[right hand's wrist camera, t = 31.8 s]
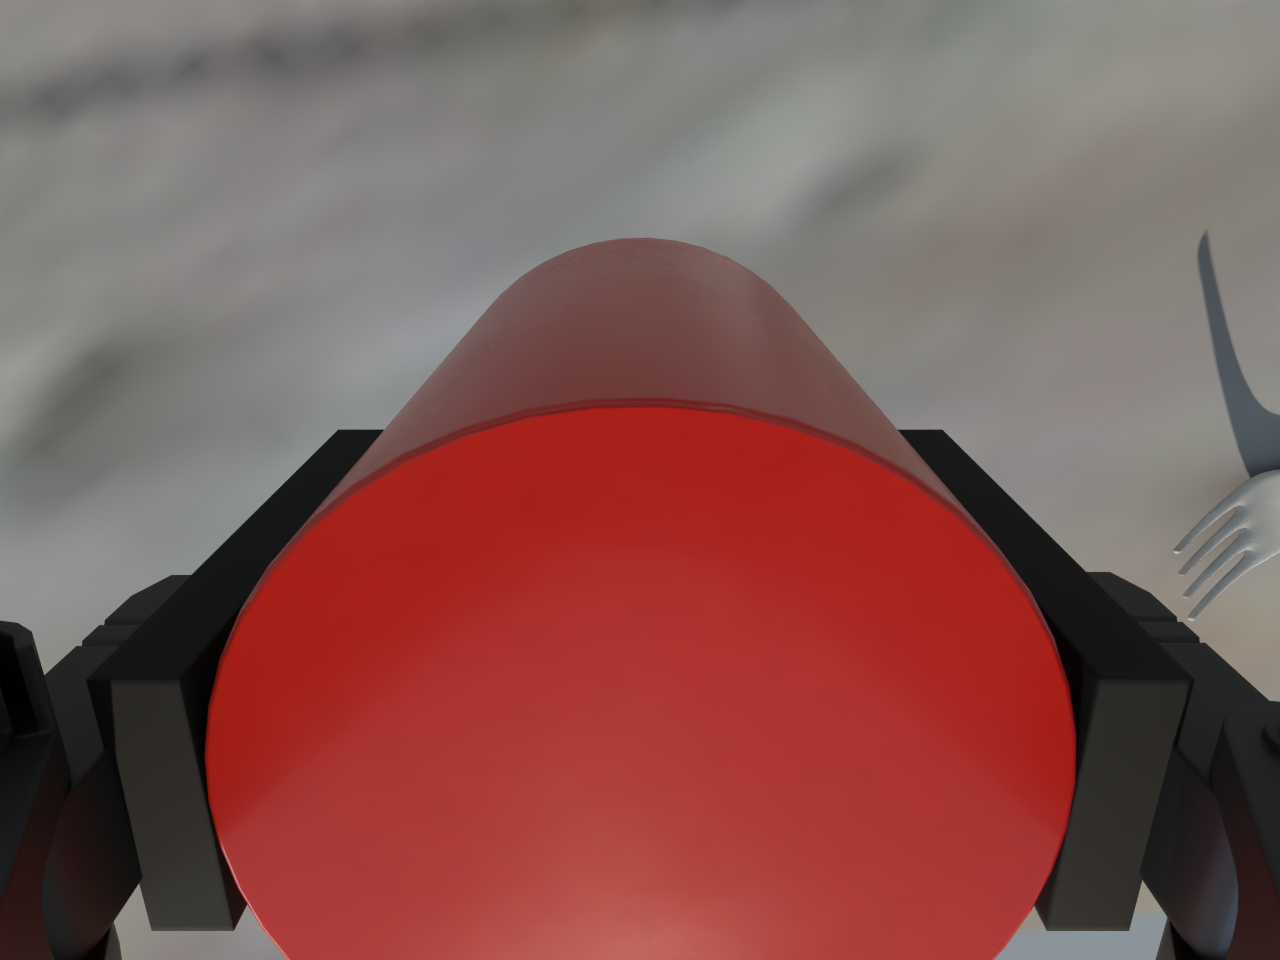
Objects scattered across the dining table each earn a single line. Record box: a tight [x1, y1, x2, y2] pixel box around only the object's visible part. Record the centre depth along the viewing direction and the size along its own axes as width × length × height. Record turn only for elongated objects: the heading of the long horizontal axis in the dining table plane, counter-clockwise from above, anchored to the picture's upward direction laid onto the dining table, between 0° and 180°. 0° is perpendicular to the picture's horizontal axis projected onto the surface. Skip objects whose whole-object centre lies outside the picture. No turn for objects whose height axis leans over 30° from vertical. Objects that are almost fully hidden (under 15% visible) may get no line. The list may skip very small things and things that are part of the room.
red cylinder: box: [205, 238, 1076, 960], centre depth 13 cm, size 8×8×10 cm
